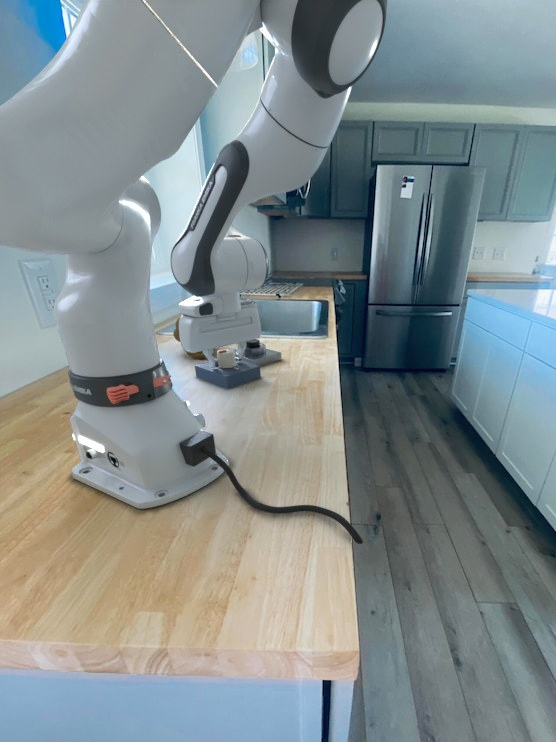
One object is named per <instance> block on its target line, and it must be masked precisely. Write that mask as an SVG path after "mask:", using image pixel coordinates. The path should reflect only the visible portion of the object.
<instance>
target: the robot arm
mask: <svg viewBox="0 0 556 742" xmlns="http://www.w3.org/2000/svg"><path fill="white" fill-rule="evenodd" d="M387 11H388V0H84V2H83V5H82V6H81V9H80V11H79V13H78V15H77V17H76V19H75V21H74V24H73V26H72V27H71V29H70V32H69V34H68V35H67V37H66V39H65V40H64V42H63V44H62V46H61V47H60V49H59V50H58V51H57V52H56V54H55V55H54V56H53V58H52V59H51V60H50V61H49V62H48V63H47V65H45V67H44V68H43V69H42V70H41V71H40V72H38V74H37V75H36V76H35V77H34V78H33V79H31V81H29V82H28V83H27V84H26V85H25V86H24V87H22V88H21V89H20V90H19V91H18V92H17V93H15V94H14V95H13V96H12V97H11V98H9V99H8V100H7V101H5V102H4V103H3V104H1V105H0V246H2V247H6V248H10V249H15V250H19V251H22V252H29V253H33V254H38V255H44V256H64V255H65V277H64V282H63V286H62V288H61V290H60V293H59V294H58V296H57V297H56V299H55V301H54V303H53V308H52V314H53V315H52V316H53V320H54V323H55V325H56V329H57V333H58V335H59V338H60V341H61V344H62V348H63V351H64V354H65V357H66V359H67V363H68V366H69V370H68V371H67V375H68V378H69V386H70V388H71V389H72V392H73V395H74V397H75V398H76V400H77V405H76V407H75V410H74V411H73V413H72V415H71V417H70V418H69V422H70V426H71V429H72V430H71V431H72V434H71V435H72V438H73V441H74V442H75V444H76V447H77V452H78V456H79V458H80V461H79V462H78V463H77V464H76V465H75V466H74V467H72V468H71V474H72V478H73V479H74V480H76V481H79V482H81V483H82V484H85V485H87V486H89V487H91V488H93V489H96V490H97V491H100V492H102V493H104V494H106V495H108V496H111V497H113V498H114V499H117V500H118V501H121V502H123V503H125V504H127V505H130V506H132V507H134V508H136V509H139V510H145V509H150V508H155V507H159V506H162V505H165V504H166V505H167V504H168V503H172V502H175V501H177V500H180V499H181V498H184V497H186V496H188V495H190V494H192V493H194V492H196V491H198V490H200V489H202V488H204V487H205V486H207V485H209V484H210V483H212V482H213V481H215V480H216V479H217V478H220V476H221V475H223V474H224V472H225V473H226V476H227V477H228V479H229V480H230V482H231V484H232V486H233V487H234V489H235V490H236V491H237V492H238V493H239V495H240V496H241V498H243V499H244V500H245V501H246V503H247V504H249V505H250V506H252V507H253V508H254V509H257V510H260V511H263V512H266V513H269V514H292V513H299V512H300V513H301V512H311V513H316V514H320V515H322V516H326V517H328V518H330V519H333V520H334V521H336V522H337V523H338V524H339V525H341V526H342V527H343V528H344V529H345V530H346V531H347V533H348V534H349V535H350V537H351V538H352V539H353V540H354V542H355V543H356V544H358V545H362V544H364V540H363V538H362V537H361V535H360V534H359V532H358V531H357V530H356V528H354V526H353V525H352V524H351V523H350V522H349V520H347V519H346V518H345V517H344V516H342V515H341V514H339V512H335V511H333V510H330V509H329V508H325V507H322V506H317V505H312V504H297V505H287V506H272V505H268V504H264V503H262V502H259V501H258V500H256V499H254V497H252V496H251V495H250V494H249V493H248V492H247V491H246V489H244V487H243V486H242V485H241V484H240V482H239V480H238V479H237V477H236V475H235V473H234V471H233V470H232V469H231V466H230V461H229V458H227V457H226V455H224V454H223V453H222V452H221V451H220V450H219V449H218V448H217V447H216V442H215V436H214V433H211V432H208V431H206V430H205V427H206V419H205V416H204V415H203V414H202V413H200V412H199V413H195V414H193V413H192V411H191V410H190V408H189V406H190V401H189V400H184V399H183V400H182V399H181V398H180V397H179V395H178V394H177V393H176V392H175V390H174V389H173V386H174V385H173V381H172V379H171V378H172V376H171V374H170V371H169V369H168V368H167V366H166V364H165V361H164V360H163V359H162V358H161V357H160V351H159V346H158V341H157V340H158V339H157V336H156V330H155V325H154V319H153V315H152V313H153V312H152V305H151V266H152V255H153V254H152V253H153V252H152V251H153V244H154V241H155V239H156V236H157V234H158V232H159V230H160V227H161V223H162V209H161V204H160V199H159V198H158V195H157V192H156V191H155V188H154V187H153V186H152V184H151V183H150V182H149V181H148V180H147V179H146V178H145V177H144V175H145V174H147V173H148V172H149V171H150V170H151V169H153V168H154V167H156V166H157V165H158V164H160V163H162V162H164V161H166V160H168V159H170V158H172V157H173V156H174V155H175V154H176V153H178V151H179V150H180V148H181V147H182V145H183V143H185V141H186V139H187V138H188V136H189V135H190V133H191V131H192V129H193V128H194V127H195V124H196V123H197V122H198V120H199V118H200V117H201V115H202V114H203V112H204V111H205V109H206V107H207V106H208V104H209V103H210V101H211V100H212V98H213V96H214V95H215V93H216V91H217V90H218V89H219V87H218V86H220V85H221V83H222V82H223V80H224V79H225V77H226V75H227V73H228V72H229V70H230V69H231V67H232V65H233V63H234V61H235V59H236V58H237V55H238V54H239V51H240V50H241V47H242V45H243V43H244V41H245V39H246V38H247V37H248V36H249V35H250V34H252V33H254V32H256V31H258V30H260V32H261V33H262V35H263V36H264V37H265V38H266V39H267V40H268V42H270V44H271V45H272V46H273V47H274V56H273V58H272V61H271V63H270V65H269V68H268V72H267V73H266V75H265V79H264V82H263V84H262V88H261V91H260V94H259V97H258V100H257V103H256V105H255V107H254V110H253V112H252V113H251V115H250V117H249V119H248V120H247V122H246V124H245V125H244V126H243V128H242V129H241V131H240V132H239V133H238V135H236V137H235V138H234V139H232V140H231V141H230V142H228V143H227V144H226V145H224V146H223V147H222V149H220V151H219V153H218V155H217V156H216V158H215V160H214V162H213V164H212V166H211V169H210V171H209V173H208V175H207V177H206V180H205V182H204V185H203V186H202V189H201V192H200V193H199V196H198V199H197V201H196V202H195V203H196V204H195V205H194V208H193V210H192V212H191V215H190V217H189V219H188V222H187V224H186V226H185V228H184V230H183V231H182V233H180V236H179V237H178V238H177V240H176V241H175V243H174V245H173V247H172V249H171V253H170V269H171V273H172V275H173V278H174V280H175V281H176V282H177V284H178V285H179V286H180V287H181V288H182V289H184V290H185V291H186V292H187V293H188V294H190V295H192V296H191V297H189V298H187V299H185V300H184V301H181V302H179V303H178V305H177V310H178V313H179V314H181V316H180V317H179V318H180V319H179V336H180V342H179V343H180V346H181V348H182V349H183V351H184V350H185V351H188V352H191V353H196V352H200V351H203V354H204V355H205V356H206V357H207V358H206V359H207V360H208V362H209V366H210V367H212V368H215V367H218V366H219V364H218V363H219V361H218V358H215V357H214V356H213V354H214V351H213V349H214V350H215V349H218V348H222V347H227V346H230V345H236V346H237V348H236V349H237V352H236V353H235V360H236V361H241V360H243V359H244V358H243V353H244V350H245V348H246V341H249V340H254V339H258V340H259V339H260V338H261V336H262V334H263V333H262V324H261V319H260V315H259V309H258V308H259V307H258V304H257V303H256V301H254V300H253V298H247V299H241V292H243V291H252V290H255V289H258V288H259V289H260V288H262V286H264V284H265V283H266V281H267V279H268V276H269V272H270V271H269V270H270V262H269V261H270V260H269V257H268V253H267V250H266V249H265V247H264V245H263V244H262V243H261V242H260V241H259V240H258V239H257V238H253V237H249V236H248V235H246V234H244V233H242V232H240V231H239V230H237V229H236V228H235V227H234V226H233V222H234V220H235V218H236V216H237V215H238V214H239V213H240V211H242V210H243V209H244V208H245V207H247V206H248V205H250V204H252V203H254V202H256V201H259V200H261V199H265V198H267V197H271V196H275V195H279V194H285V193H290V192H292V191H295V190H298V189H300V188H302V187H303V186H305V185H306V184H307V183H308V182H309V181H310V180H311V179H312V178H313V176H314V175H315V173H316V172H317V171H318V169H319V168H320V166H321V165H322V163H323V161H324V158H325V157H326V154H327V152H328V150H329V148H330V145H331V143H332V141H333V139H334V137H335V134H336V133H337V131H338V128H339V125H340V123H341V120H342V118H343V115H344V113H345V110H346V107H347V105H348V101H349V98H350V95H351V92H352V88H353V86H354V85H356V84H357V82H358V81H360V79H362V78H363V76H364V75H365V74H366V72H367V71H368V70H369V68H370V67H371V65H372V63H373V61H374V60H375V58H376V56H377V54H378V52H379V49H380V46H381V45H382V41H383V38H384V33H385V30H386V22H387V14H388V13H387ZM185 351H184V352H185Z"/></svg>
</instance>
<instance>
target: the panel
mask: <svg viewBox="0 0 556 742" xmlns="http://www.w3.org/2000/svg"><path fill="white" fill-rule="evenodd" d="M235 361H236V360H235ZM194 369H195V370H194V371H195V375H196V378H197V379H200V380H202V381H205V382H208V383H211V384H212V385H216V386H218V387H220V388H223V389H226V390H229V389H232V388H236V387H238V386H242V385H244V384H248V383H251V382H253V381H256V380H259V379H262V373H261V366H257V365H254V364H251V363H247V362H244V361H236V366H235V367H232V368H221V367H219V366H218V367H215V368H212V367H210V366H209V361H206V362H203V363H200V364H196V365H194Z"/></svg>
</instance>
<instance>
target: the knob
mask: <svg viewBox="0 0 556 742" xmlns="http://www.w3.org/2000/svg"><path fill="white" fill-rule="evenodd" d="M216 355H217V359H218V361H219V363H218V364H219V367H221V368H232V367H235V366H236V361H235V351H234V349H231V348H224V349H223V348H222V349H218V350H217V351H216Z"/></svg>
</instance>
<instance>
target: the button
mask: <svg viewBox="0 0 556 742" xmlns="http://www.w3.org/2000/svg"><path fill="white" fill-rule="evenodd" d="M260 343H261V341H260V339H259V338H258V339H254V340H249V341H246V347H247V348H257V347H260Z"/></svg>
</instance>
